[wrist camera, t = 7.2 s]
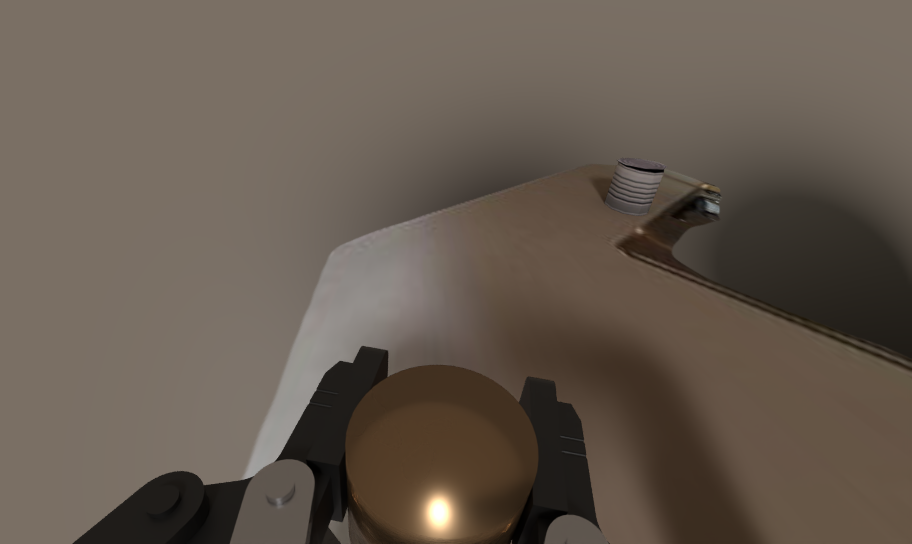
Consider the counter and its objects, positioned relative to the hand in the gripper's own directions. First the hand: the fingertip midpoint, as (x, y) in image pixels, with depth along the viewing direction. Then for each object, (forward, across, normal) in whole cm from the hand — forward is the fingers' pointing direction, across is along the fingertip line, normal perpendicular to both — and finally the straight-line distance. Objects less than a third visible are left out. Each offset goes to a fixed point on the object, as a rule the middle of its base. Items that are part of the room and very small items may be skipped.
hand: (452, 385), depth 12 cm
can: (+96, -36, +28) cm, 106 cm away
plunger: (-3, 0, +19) cm, 19 cm away
